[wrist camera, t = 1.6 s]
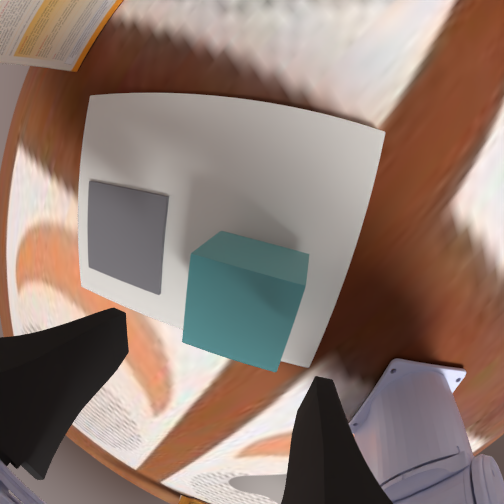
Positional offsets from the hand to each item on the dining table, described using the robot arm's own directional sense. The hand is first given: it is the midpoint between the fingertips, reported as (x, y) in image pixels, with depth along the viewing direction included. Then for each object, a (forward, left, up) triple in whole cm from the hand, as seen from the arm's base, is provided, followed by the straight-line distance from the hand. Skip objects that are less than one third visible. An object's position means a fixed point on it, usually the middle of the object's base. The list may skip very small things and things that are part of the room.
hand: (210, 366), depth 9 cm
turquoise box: (0, 0, -7) cm, 7 cm away
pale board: (+2, +5, -9) cm, 11 cm away
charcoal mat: (0, +10, -9) cm, 14 cm away
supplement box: (+17, +19, -10) cm, 27 cm away
